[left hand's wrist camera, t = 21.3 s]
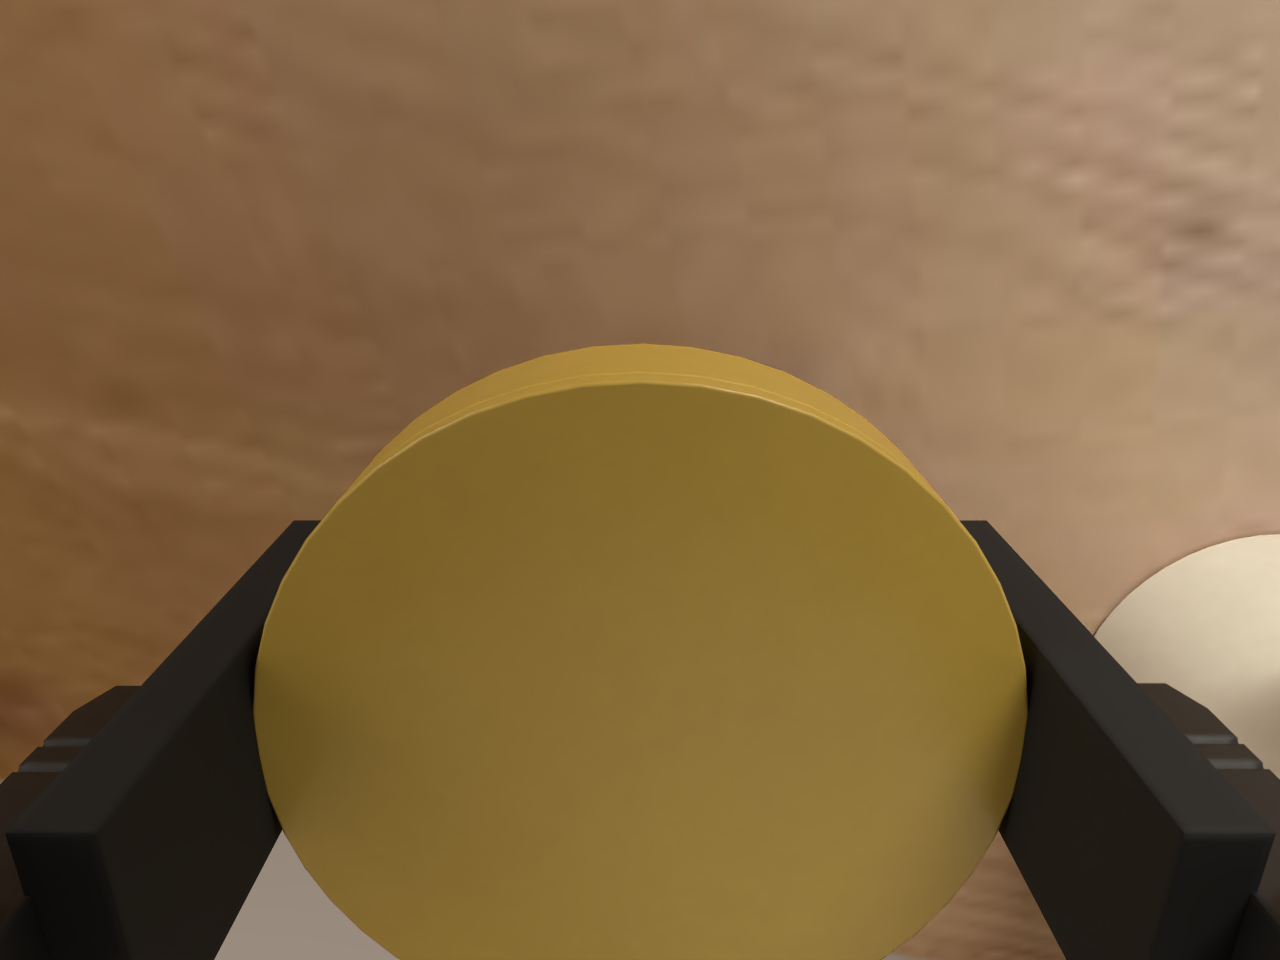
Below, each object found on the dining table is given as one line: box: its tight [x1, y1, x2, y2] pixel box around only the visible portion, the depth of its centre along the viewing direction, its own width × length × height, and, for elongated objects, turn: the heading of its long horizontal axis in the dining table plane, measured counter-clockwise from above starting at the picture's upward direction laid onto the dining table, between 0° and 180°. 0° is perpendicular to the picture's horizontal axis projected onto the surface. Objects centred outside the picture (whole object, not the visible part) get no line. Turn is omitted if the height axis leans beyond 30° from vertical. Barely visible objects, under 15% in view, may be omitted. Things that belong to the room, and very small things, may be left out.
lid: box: [253, 344, 1028, 960], centre depth 11 cm, size 9×9×2 cm
